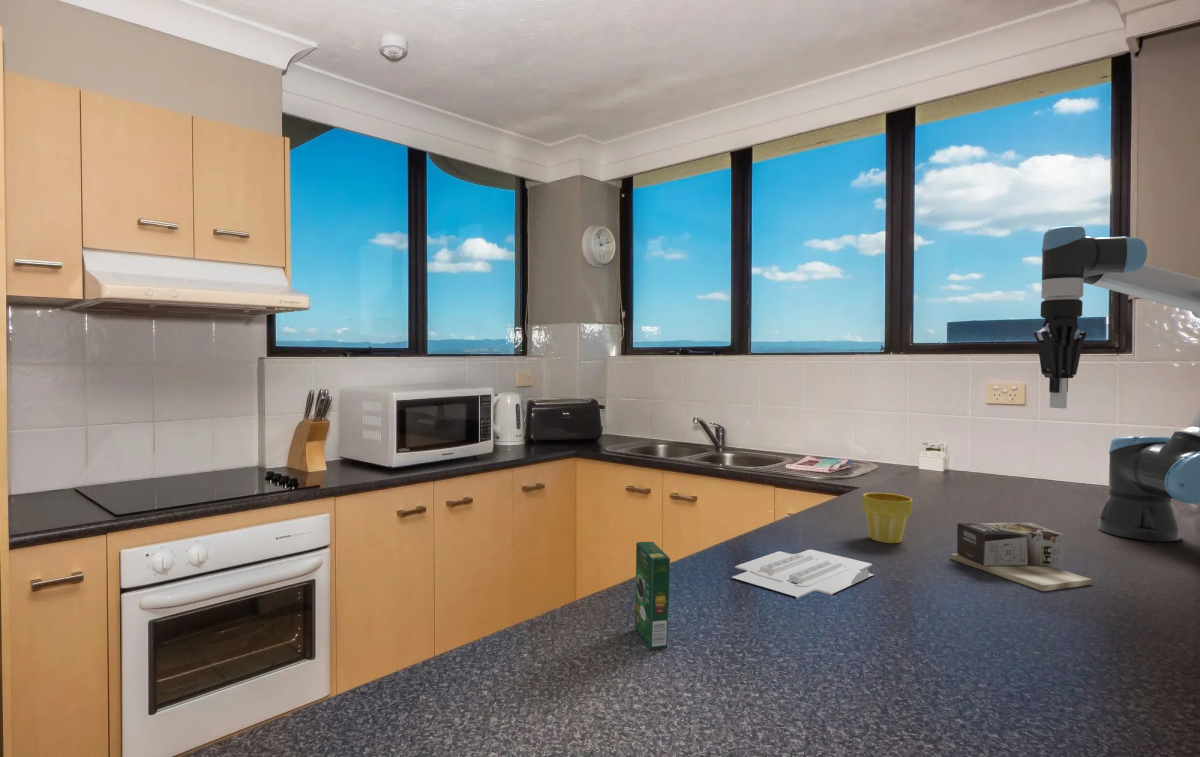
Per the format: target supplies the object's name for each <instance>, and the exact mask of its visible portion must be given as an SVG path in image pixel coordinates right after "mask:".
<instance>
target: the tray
mask: <svg viewBox="0 0 1200 757" xmlns="http://www.w3.org/2000/svg"><path fill="white" fill-rule="evenodd" d="M871 566H873V564H872V563H870V562H865V561H862V560H858V559H854V558H850V557H845V556H841V555H836V554H832V553H827V552H825V551H819V550H815V549H807V550H804V551H801V552H798V553H789V552H784V551H780V550H779V551H776V552H772V553H770V554H767V555H764V556H761V557H759V558H755V559H752V560H749V561H746V562H744V563H743V562H742V563H739V564H738V565H735V566H734V568H735V569H736V570H737V569H738V570H741V571H745V572H742V573H739V574H737V575H732V576H731V577H729V579H730V580H731V579H736V580H739V581H742V582H746V583H748V584H752V585H756V586H759V587H763V588H766V589H769V590H773V591H776V592H779V593H782V594H786V595H789V596H793V597H795V598H796V599H799V598H801V597H803V596H806V595H808V594H811V593H813V592H819V593H822V594H826V595H829V596H833V594H836V593H837V592H839V591H842V590H844V589H846V588H848V587H850V586H852V585H855V584H857V583H859V582H861V581H864V580H865V579H868V578H870V577H872V576H873V577H875V574H874V573H870V572H869V569H868V568H870V567H871Z"/></svg>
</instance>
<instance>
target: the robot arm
mask: <svg viewBox="0 0 1200 757" xmlns="http://www.w3.org/2000/svg"><path fill="white" fill-rule="evenodd" d="M1041 247H1042V248H1041V252H1042V253H1041V254H1042V256H1041V257H1042V258H1041V259H1042V260H1041V261H1042V262H1041V263H1042V264H1041V292H1040V293H1041V296H1040V297H1041V298H1042V299H1043V300H1042V301H1041V302H1040V315H1039V316H1040V317H1041V318H1043V319H1044V322H1043V324H1042V328H1041V329H1039V330H1034V333H1033V336H1034V338H1035V340H1036V344H1037V349H1038V350H1037V351H1038V356H1039V363H1040V370H1041V375H1044V378H1048V379H1049V383H1048V384H1049V385H1048V386H1049V388H1048V389H1049V390H1048V391H1049V408H1050V409H1051V408H1052V409H1067V402H1068V401H1067V400H1068V399H1067V398H1068V391H1069V389H1068V388H1069V379H1074V378H1075V376H1076V375H1077V373H1078V369H1079V368H1078V367H1079V364H1080V357H1081V354H1082V349H1083V343H1084V341H1085V339H1086V338H1087V332H1086V331H1080V330H1079V323H1078V318H1081V317H1082V316H1083V304H1084V303H1083V301H1082V299H1080V298H1083V296H1084V284H1087V285H1091V286H1095V287H1098V288H1101V289H1102V288H1103V289H1106V290H1110V291H1113V292H1117V293H1121V294H1124V295H1129V296H1132V297H1136V298H1140V299H1144V300H1147V301H1150V302H1153V303H1154V302H1155V303H1158V304H1161V305H1166V306H1169V307H1173V308H1177V309H1180V310H1184V311H1187V312H1191V314H1192V315H1193V316H1194V318H1197V319H1200V277H1196V276H1193V275H1188V274H1185V273H1181V272H1177V271H1172V270H1169V269H1164V268H1161V267H1157V266H1155V265H1154V266H1153V265H1150V264H1146V261H1147V256H1148V255H1147V253H1148V248H1147V247H1148V246H1147V244H1146V242H1145V241H1144V240H1143V239H1141V238H1139V237H1132V236H1125V235H1124V236H1114V237H1113V236H1108V237H1107V236H1105V237H1104V236H1103V237H1101V236H1097V237H1095V236H1094V237H1092V236H1087V235H1086V230H1085V228H1084V227H1083V226H1078V225H1066V226H1058V227H1053V228H1049V229H1048V230H1046V231H1045V232H1044V234H1043V239H1042V246H1041ZM1108 455H1109V466H1108V468H1109V472H1108V473H1109V475H1108V498H1107V500H1106V503H1105V504H1104V507H1103V509H1102V511H1101V513H1100V516H1099V517H1098V529H1099V530H1100V531H1102V532H1104V533H1105V534H1110V535H1114V536H1118V537H1122V538H1127V539H1128V538H1129V539H1134V540H1139V541H1149V542H1164V543H1165V542H1177V541H1180V539H1181V528H1180V527H1179V523H1178V519H1177V518H1176V514H1175V512H1174V509H1173V506H1172V500H1175V501H1178V502H1180V503H1183V504H1188V505H1196V506H1200V408H1199V409H1198V410H1197V412H1196V413H1195V415H1194V417H1193V418H1192V420H1191V421H1190V423H1189V424H1188V426H1187V427H1186V428H1183V429H1177V430H1175V431H1174V432H1173V434H1172V435H1171V437H1169V436H1168V437H1167V436H1117V437H1114V438H1112V440H1111V442H1110V447H1109V451H1108Z"/></svg>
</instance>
